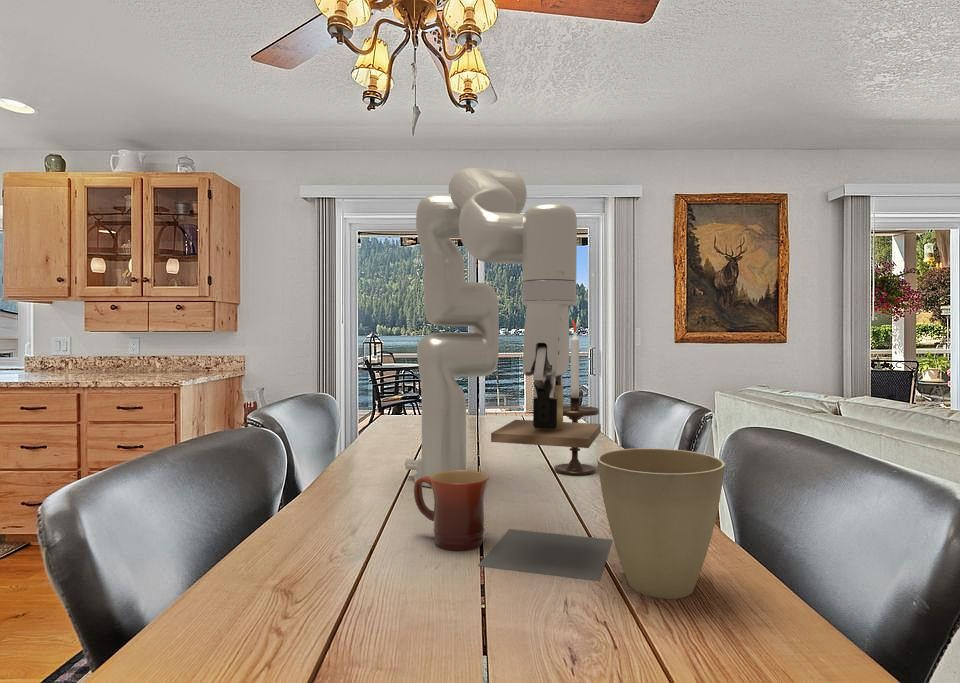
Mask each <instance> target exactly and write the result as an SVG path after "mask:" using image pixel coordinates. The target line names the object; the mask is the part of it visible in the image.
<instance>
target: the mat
mask: <svg viewBox="0 0 960 683" xmlns="http://www.w3.org/2000/svg"><path fill="white" fill-rule="evenodd" d="M613 542H614V540H613V539H612V538H611V539H609V538H602V537H601V538H600V537H591V536H581V535H572V534H569V535H568V534H561V533H559V534H558V533H553V532H552V533H550V532H541V531H531V530H521V529H520V530H519V529H512V528H509V529H507V531H506V532H505V534H503V535H502V537H501V538H500V539H499V540H498V541H497V543H496V544H495V545H494V546H493V548H492V549H490V551H489V552H488V553H487V554H486V555H485V557H484V558H483V559H482V560H481V561H480V562H479V563H478V564H477V567H481V568H488V569H497V570H498V569H499V570H504V571H505V570H506V571H513V572H521V573H528V574H529V573H530V574H537V575H544V576H545V575H546V576H554V577H560V578H561V577H563V578H570V579H577V580H587V581H593V582H600V581H601V578H602V576H603V572H604V570H605V569H604V568H605V566H606V563H607V559H608V557H609V553H610V550H611V546H612V543H613Z"/></svg>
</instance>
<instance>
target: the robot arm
mask: <svg viewBox="0 0 960 683" xmlns="http://www.w3.org/2000/svg"><path fill="white" fill-rule="evenodd" d="M448 193H449V194H445V193H444V194H443V193H441V194H439V193H437V194H430V195H426V196H425V197H423V198H422V199H420V201H419V203H418V205H417V208H416V213H415V214H416V215H415V229H416V233H417V238H418V242H419V245H420V249H421V252H422V257H423V263H424V264H423V266H424V268H423V276H424V277H423V279H424V280H423V284H424V285H423V290H424V292H423V294H424V295H423V304H424V305H423V306H424V315H425V318H426V321H428V323H430V324H432V325H434V326H440V327H441V326H442V327H472V330H473V331H472V332H446V331H445V332H433V333H428V334H426V335H424V336H423V337H422V338H421V339H420V340H419V342H418V344H417V349H416V356H417V357H416V358H417V364H418V365H417V366H418V370H419V376H420V377H419V378H420V391H421V392H420V393H421V458H420V459H417V460H415V459H410V458H409V459H408V458H406V460H405V462H404V465H405V466H404V467H405V470H407V471H416V474H415V475H414V483H415V482H416V481H417V480H418V479H419V478H421V477H426V476H427V477H429V476H430V475H432V474H434V473H438V472H442V471H452V470H467V398H466V395H465V392H464V391H463V389H462V388H461V387H460V385H459V384H458V382H457V381H456V379H455V378H471V377H472V378H473V377H487V376H490V375H492V374H493V373H495V371H496V370H497V366H498V363H499V351H500V350H499V346H500V344H499V342H500V339H499V336H500V335H499V333H500V332H499V330H500V329H499V327H500V325H499V324H500V323H499V322H500V319H499V318H500V317H499V316H500V315H499V314H500V313H499V312H500V311H499V309H500V307H499V299H498V295H497V293H496V291H495V289H494V288H493V287H492V286H491V285H490V284H487V283H484V282H473V281H472V282H469V281H466V278H465V259H464V257H463V254H462V252H461V251H460V249H459V247H458V246H457V245H456V244H455V242H454V241H453V240H452V239H451V238H458V239H460V242H461V243H462V245H463V246H464V248H465V249H466V250H467V252H468V253H469V254H470V255H471V256H472V257H473V258H474V259H475V260H478V261H480V262H483V263H488V264H508V265H522V304H521V305H522V306H524V307H526V310H525V319H524V328H523V329H524V332H523V350H522V373H523V374H524V376H526V377H530V376H533V399H532V401H533V405H532V406H533V408H532V412H533V413H532V416H533V417H532V419H533V426H534V427H535V428H550V429H554V428H556V427H557V399H555V385H562V386H563V387H564V385H563V383H564V382H563V381H564V380H563V375H564V374H565V373H566V372H568V370H569V362H570V315H569V312H570V311H569V307H574V306H575V307H576V306H577V237H578V234H577V233H578V232H577V231H578V230H577V229H578V227H577V226H578V225H577V224H578V223H577V222H578V219H577V218H578V217H577V214H576V212H575V210H574V209H573V208H572V207H570V206H568V205H564V204H555V203H554V204H552V203H551V204H550V203H549V204H546V203H545V204H539V205H534V206H532V207H529V208H528V209H526V210H525V212H524V213H522V211H523V210H524V208H525V207H526V206H525V205H526V203H527V197H528V196H527V194H528V192H527V186H526V183H525V181H524V180H523V178H522V177H521V176H520V174H518V173H516V172H513V171H509V170H503V169H494V168H484V167H475V166H474V167H466V168H465V167H464V168H461V169H460V170H458V171H457V172H455V173H454V175H452V177H451V179H450V180H449V183H448ZM549 385H550V386H549ZM422 487H428V488H432V487H431V486H430V485H429V484H427V483H424V482H423V484H422Z"/></svg>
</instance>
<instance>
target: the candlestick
mask: <svg viewBox="0 0 960 683" xmlns="http://www.w3.org/2000/svg"><path fill="white" fill-rule="evenodd" d="M571 323H572V327H573V328H572V329H573V334H572V337H571V338H570V395H569V396H566V398H567V399H569V400H570V402H569V403H570V404H569V405H563V417H564V416H565V417H567V418H568V420H571V422H572V423H579V420H581V419H582V418H583V417H591V416H598V415H600V409H599V407H595V406H594V407H593V406H588V405H587V406H586V405H580V399H584V396H580V338H578V335H577V329H578V328H577V324H576V322H575V321H574V318H572V321H571ZM569 451H570V452H571V459H570V460H569V462H568V463H559V464H557V465H554V472H555V473H556V474H559V475H563V476H568V477H569V476H571V477H585V476H586V477H587V476H591V475H594V474H595V473H596V468H595V466H593V465H590V464H584V463H581V462H580V460H579V451H581V448H577V447H569Z"/></svg>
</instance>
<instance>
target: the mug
mask: <svg viewBox="0 0 960 683" xmlns="http://www.w3.org/2000/svg"><path fill="white" fill-rule="evenodd" d="M489 479H490V477H489V475H488V474H486V473H485V472H481V471H476V470H467V469H466V470H452V471H442V472H438V473H434V474H432V475H430V476H429V477H427V476H426V477H421V478H419V479H418V480H417V481H416V482H415V481H414V486H413V496H414V500H415V501H414V502H415V504H416V507H417V508H418V510H419V512H420V514H422V515H423V516H424V517H425V518H426V519H428V520H430V521H432V522H433V538H434V540H435V542H434V543H435V545H436V546H437V547H439V548H440V549H442V550H446V551H452V552H462V551H463V552H465V551H472V550H474V549H477V548H478V549H479V547H480V546H482V544H483V540H484V537H485V530H486V529H485V508H484V506H485V505H484V504H485V502H484V501H485V494H486V489H487V485H488V482H489ZM423 482H424V483H427V484H429V485H430V486H431V487H430V488H431V490H432V494H433V498H434V499H433V502H434V504H433V505H434V506H433V510H431V509H430V508H428V506H427V505H426V503H425V500H424V495H423V486H422V484H423Z"/></svg>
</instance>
